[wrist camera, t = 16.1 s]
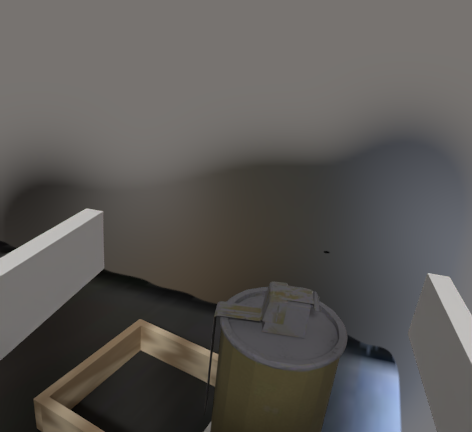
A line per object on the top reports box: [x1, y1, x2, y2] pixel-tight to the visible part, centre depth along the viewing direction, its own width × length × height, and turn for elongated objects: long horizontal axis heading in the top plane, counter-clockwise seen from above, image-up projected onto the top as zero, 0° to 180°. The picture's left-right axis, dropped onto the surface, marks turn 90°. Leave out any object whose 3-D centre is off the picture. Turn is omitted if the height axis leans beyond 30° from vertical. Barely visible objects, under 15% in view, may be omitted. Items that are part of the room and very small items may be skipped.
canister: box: [204, 281, 347, 432], centre depth 35 cm, size 11×10×20 cm
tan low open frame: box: [33, 319, 218, 432], centre depth 44 cm, size 14×16×4 cm
